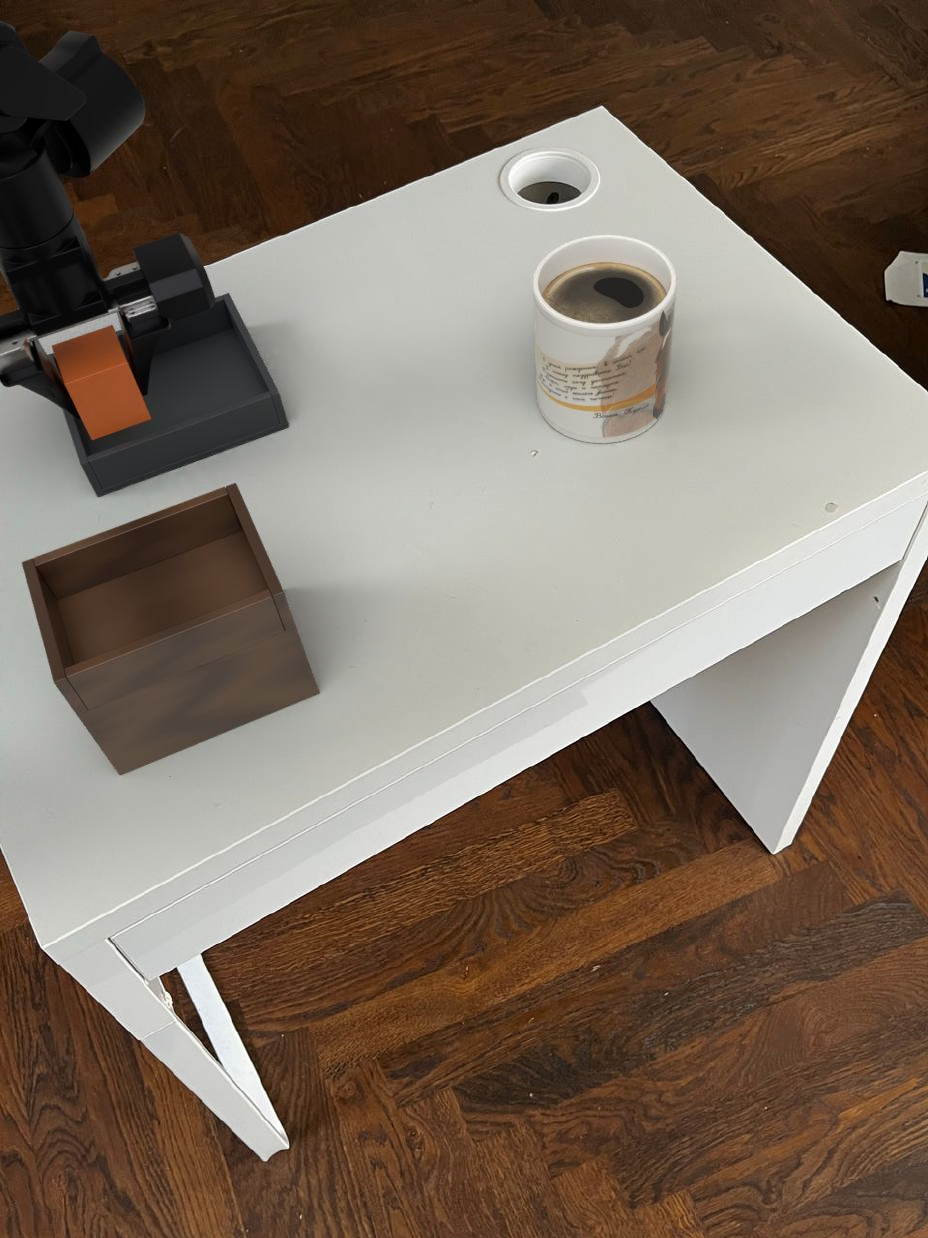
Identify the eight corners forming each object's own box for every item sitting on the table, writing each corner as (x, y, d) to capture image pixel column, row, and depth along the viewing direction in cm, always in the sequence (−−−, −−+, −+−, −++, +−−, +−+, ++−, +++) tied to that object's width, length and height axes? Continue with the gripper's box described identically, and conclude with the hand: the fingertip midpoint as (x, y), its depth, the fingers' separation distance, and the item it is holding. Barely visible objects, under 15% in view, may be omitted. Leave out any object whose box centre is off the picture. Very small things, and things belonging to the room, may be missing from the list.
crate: (119, 776, 72) (53, 683, 63) (86, 662, 77) (21, 561, 68) (320, 693, 74) (284, 592, 65) (274, 589, 79) (235, 481, 70)
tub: (97, 497, 85) (80, 464, 82) (61, 389, 93) (44, 355, 90) (289, 427, 88) (279, 392, 85) (239, 327, 95) (228, 292, 92)
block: (92, 440, 83) (64, 384, 79) (78, 402, 86) (51, 345, 81) (151, 419, 84) (127, 362, 79) (136, 381, 86) (112, 324, 82)
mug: (506, 384, 89) (498, 266, 80) (630, 319, 92) (635, 198, 83) (588, 464, 83) (589, 347, 74) (717, 392, 86) (733, 271, 77)
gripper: (140, 112, 77) (202, 298, 90) (-137, 198, 74) (-32, 378, 87) (184, 199, 71) (244, 386, 84) (-116, 297, 68) (-7, 475, 81)
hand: (111, 403), depth 84 cm, fingers closed on block, 4 cm apart
